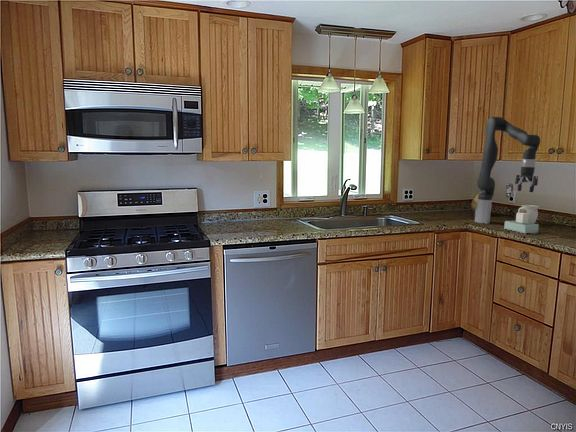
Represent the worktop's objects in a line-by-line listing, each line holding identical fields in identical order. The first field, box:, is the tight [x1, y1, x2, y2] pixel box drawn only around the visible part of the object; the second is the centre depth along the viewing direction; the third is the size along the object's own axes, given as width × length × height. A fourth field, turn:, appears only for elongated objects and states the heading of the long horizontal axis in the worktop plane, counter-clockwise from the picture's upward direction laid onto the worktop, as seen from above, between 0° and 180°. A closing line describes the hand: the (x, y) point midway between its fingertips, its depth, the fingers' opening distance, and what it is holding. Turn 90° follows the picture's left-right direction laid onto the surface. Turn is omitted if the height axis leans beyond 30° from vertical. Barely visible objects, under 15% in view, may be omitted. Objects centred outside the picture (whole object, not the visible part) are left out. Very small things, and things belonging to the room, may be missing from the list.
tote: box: [503, 220, 540, 235], centre depth 267 cm, size 16×12×6 cm
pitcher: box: [517, 204, 541, 224], centre depth 297 cm, size 11×18×14 cm, turn 14°
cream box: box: [515, 212, 529, 223], centre depth 266 cm, size 5×5×6 cm
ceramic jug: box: [470, 189, 493, 216], centre depth 332 cm, size 17×15×30 cm
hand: (525, 191), depth 263 cm, fingers open, 8 cm apart
